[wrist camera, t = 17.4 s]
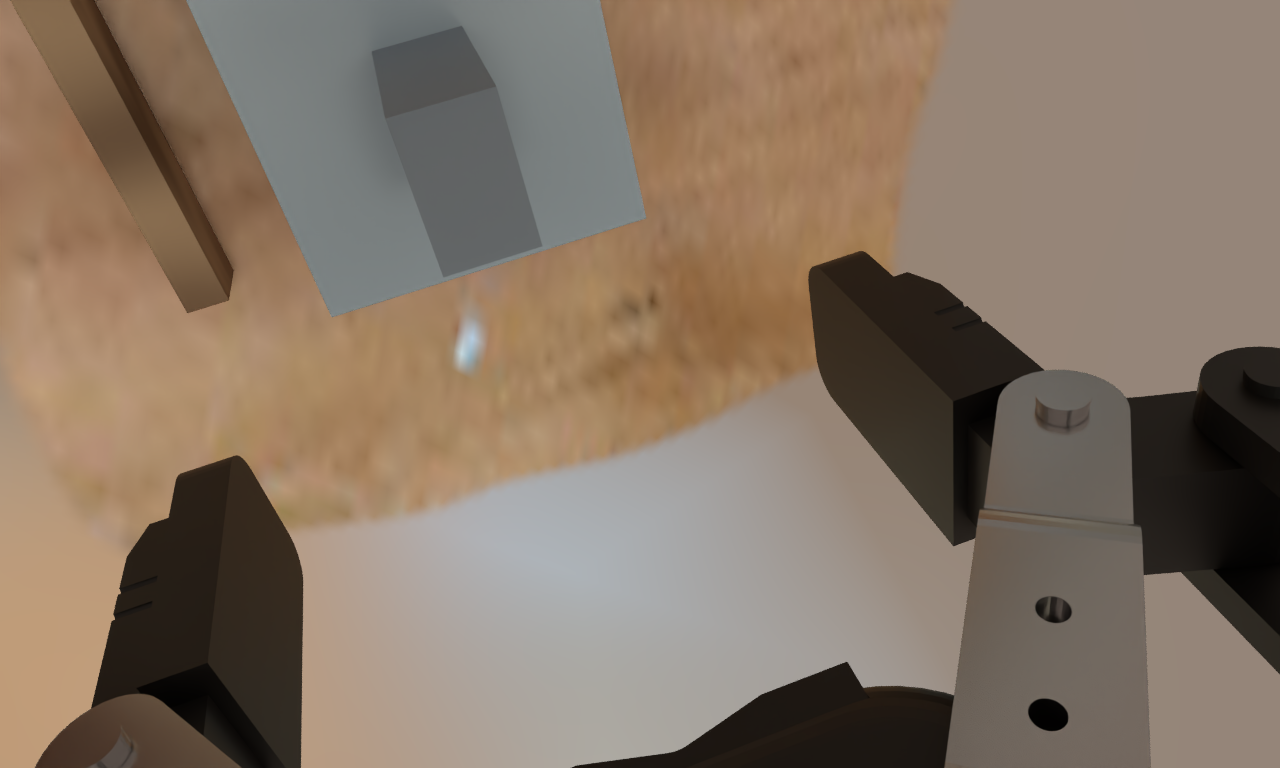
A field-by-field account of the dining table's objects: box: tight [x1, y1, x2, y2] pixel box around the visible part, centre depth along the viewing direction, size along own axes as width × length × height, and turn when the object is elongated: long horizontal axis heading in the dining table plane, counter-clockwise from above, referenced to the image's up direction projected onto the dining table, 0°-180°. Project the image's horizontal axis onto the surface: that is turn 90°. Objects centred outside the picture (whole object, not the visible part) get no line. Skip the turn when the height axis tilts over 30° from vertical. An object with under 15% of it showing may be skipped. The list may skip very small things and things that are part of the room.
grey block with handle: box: [186, 0, 646, 317], centre depth 28 cm, size 10×10×15 cm
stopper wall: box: [10, 0, 233, 313], centre depth 31 cm, size 14×2×2 cm, turn 12°
